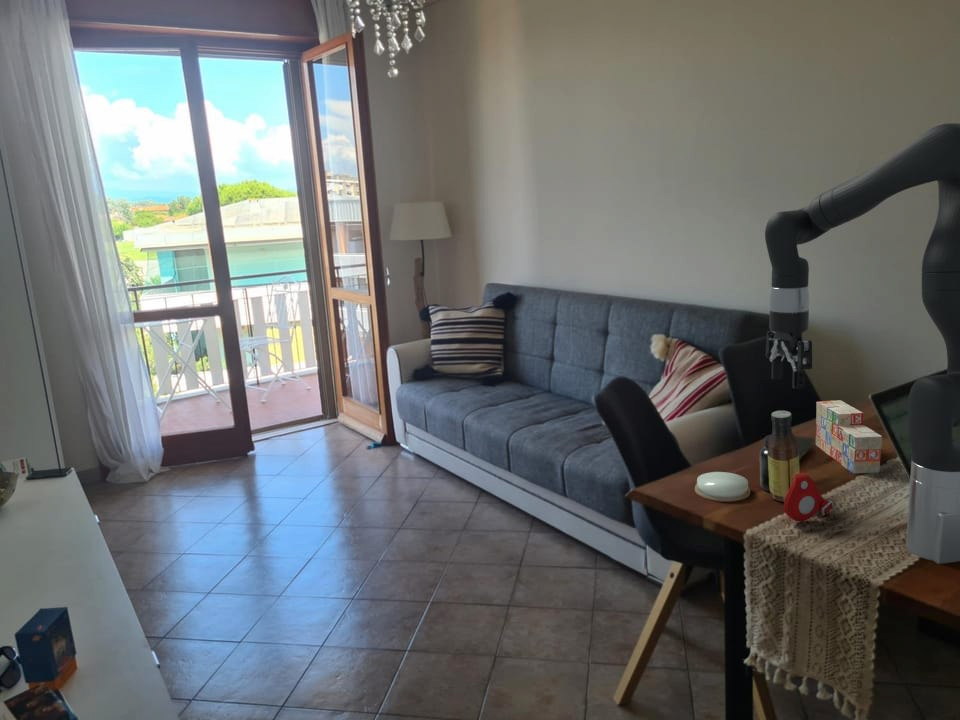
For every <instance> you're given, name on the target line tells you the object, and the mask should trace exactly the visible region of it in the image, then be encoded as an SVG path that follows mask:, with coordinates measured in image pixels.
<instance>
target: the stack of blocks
mask: <svg viewBox="0 0 960 720" xmlns="http://www.w3.org/2000/svg"><path fill="white" fill-rule="evenodd" d="M815 424H816V427H815V431H816V432H815V433H816V435H815V446H816V447H818V448H819V449H820V450H821V451H822V452H823V453H825V454H826V455H828V456H830V457H831V458H832V459H833V460H834V461H836V462H838V463H839V464H840V465H841V466H843V467H844V468H845V469H846V470H848V471H849V472H851V473H852V474H854V475H855V474H869V473H871V474H873V473H880V467H881V456H882V455H881V454H882V453H881V451H882V447H883V445H882V444H883V436H882V435H880V434H879V433H877V432H876V431H875V430H872V429H871V428H869V427H867V426H866V425H864V412H862V411H860V410H859V409H857V408H855V407H853V406H851V405H849V404H848V403H846V402H844V401H843V400H841V399H840V400H839V399H838V400H823V401H816V417H815Z"/></svg>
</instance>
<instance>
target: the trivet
mask: <svg viewBox="0 0 960 720" xmlns="http://www.w3.org/2000/svg"><path fill="white" fill-rule="evenodd" d="M694 492H695V494H696V495H698V496H700V497H702V498H703V499H706V500H710V501H714V502H722V503H723V502H725V503H726V502H727V503H729V502H730V503H731V502H739V501H743V500H745V499H747V498H748V497H750V496H751V488H750V487H749V481H748V479H747V478H745V477H744V476H742V475H740V474H738V473H737V474H736V473H734V472H732V473H731V472H726V471H725V472H724V471H712V472H706V473H702V474H700V475H698V477H697V479H696V483H695V486H694Z"/></svg>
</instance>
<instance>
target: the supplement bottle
mask: <svg viewBox="0 0 960 720" xmlns="http://www.w3.org/2000/svg"><path fill="white" fill-rule="evenodd" d="M771 435H772V434H768V435H766V436H765V437H764V441H763V447H762V449H760V452H759V483H760V487H761V488H762V490H764V491H766V492H768V493H771V492H770V486H769V469H768V442H769V440H770V438H771Z"/></svg>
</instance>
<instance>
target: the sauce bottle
mask: <svg viewBox="0 0 960 720" xmlns="http://www.w3.org/2000/svg"><path fill="white" fill-rule="evenodd" d="M770 417H771V422H772V430H771V431H772V432H771V434H770V435H771V438H770V440H769V442H768V469H769V486H770V492H769V493H770V497H771V498H772V499H774V500H775V501H778V502H779V503H781V502H783V503H784V501H785V498H786V495H787V493H788V491H789V489H790V487H791V486H792V483H793V480H794V474H799V473H801V472H800V454H799V444H798V439H797V438H796V437H795V435H794V434H793V429H792V420H793V416H792V413H791V412H790V411H787V410H776V411H773V412H772V413H771V416H770Z"/></svg>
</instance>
